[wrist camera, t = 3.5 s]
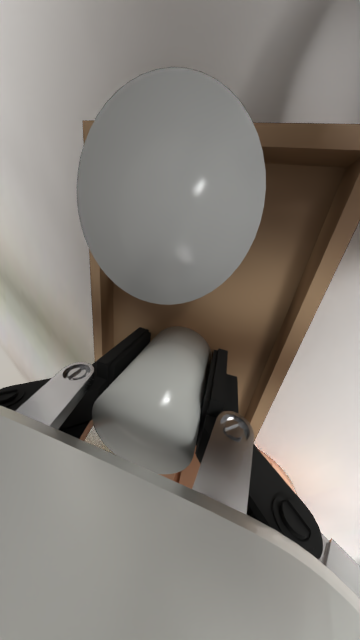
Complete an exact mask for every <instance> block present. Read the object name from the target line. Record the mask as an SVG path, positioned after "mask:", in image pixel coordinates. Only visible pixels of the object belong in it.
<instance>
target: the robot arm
mask: <svg viewBox="0 0 360 640" xmlns="http://www.w3.org/2000/svg"><path fill="white" fill-rule="evenodd" d="M150 340H151V332H149V330H148V329H145V328H141V327H139V328H138V329H136V330H135V331H134V332H133V333H131V334H130V335H129V336H128V337H126V338H125V339H124V340H122V341H121V342H120V343H119V344H117V345H116V346H115V347H113V348H112V349H111V350H110V351H108V352H107V353H106V354H105V355H103V356H102V357H101V358H99V359H98V360H97V361H96V362H95V363H93V364H92V365H91V364H89V363H86V362H78V363H73V364H70V365H68V366H66V367H64V368H63V369H62V370H60V371H59V372H58V373H57V374H56V375H55V376H54V377H53V378H50V379H45V380H39V381H34V382H29V383H24V384H19V385H13V386H9V387H5V388H2V389H0V640H360V566H359V565H358V564H357V563H356V562H355V561H354V560H353V559H352V558H351V557H350V556H349V555H348V554H347V553H346V552H345V551H344V550H343V549H342V548H341V547H340V546H339V545H338V544H337V543H336V542H335V541H334V540H333V539H331V540H330V541H329V540H328V539H327V538H326V537H325V536H324V535H323V534H322V533H321V532H320V529H319V526H318V524H317V523H316V521H315V519H314V517H313V515H312V514H311V512H310V511H309V510H308V508H307V507H306V505H305V504H304V503H303V502H302V501H301V500H300V498H299V497H298V496H297V495H296V494H295V492H294V491H293V490H292V489H291V488H290V487H289V485H288V484H287V483H286V482H285V481H284V479H283V478H282V477H281V476H280V475H279V473H278V472H277V471H276V470H275V469H274V468H273V466H272V465H271V464H270V463H269V462H268V460H267V459H266V458H265V457H264V456H263V455H262V453H261V452H260V451H259V450H258V449H257V447H256V446H255V445H254V431H253V429H252V426H251V425H250V423H249V422H248V421H247V420H246V419H245V418H244V417H243V416H241V415H240V414H239V409H238V381H237V377H236V376H233V375H229V374H227V357H228V351H227V350H223V349H219V348H218V351H217V350H214V353H213V356H212V360H211V365H210V370H209V375H208V380H207V385H206V390H205V394H204V399H203V404H202V409H201V414H200V425H199V430H198V435H197V440H196V451H195V454H196V457H197V459H198V460H199V462H200V464H201V465H200V467H199V470H198V473H197V476H196V479H195V482H194V485H193V487H192V489H190V488H188V487H186V486H184V485H182V484H179V483H177V482H175V481H173V480H170V479H168V478H166V477H164V476H161V475H159V474H157V473H155V472H152V471H150V470H148V469H146V468H144V467H141V466H139V465H137V464H135V463H132V462H130V461H128V460H126V459H123V458H121V457H119V456H117V455H114V454H112V453H110V452H107V451H105V450H103V449H101V448H98V447H96V446H94V445H92V444H89V443H87V442H85V441H84V440H85V438H86V437H87V435H88V433H89V431H90V430H91V428H92V426H93V425H94V424H93V420H92V408H93V405H94V403H95V401H96V400H97V398H98V397H99V396H100V395H101V394H102V393H103V392H104V391H105V390H106V389H107V388H108V387H109V386H110V384H111V383H112V382H113V381H114V380H115V379H116V378H117V377H118V376H119V375H120V374H121V373H122V372H123V371H124V370H125V368H126V367H127V366H128V365H129V364H130V363H131V362H132V361H133V360H134V359H135V358H136V357H137V356H138V355H139V354H140V352H141V351H142V350H143V349H144V348H145V347H146V346H147V345H148V344H149V343H150Z"/></svg>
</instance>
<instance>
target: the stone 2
mask: <svg viewBox="0 0 360 640" xmlns="http://www.w3.org/2000/svg"><path fill="white" fill-rule="evenodd" d="M211 360H212V353H211V349H210V347H209V345H208V343H207V342H206V341H205V339H204V338H203V337H202V336H201V335H199V334H198V333H197V332H195V331H193V330H191V329H189V328H186V327H179V326H175V327H169V328H166V329H164V330H162V331H161V332H159V333H158V334H157V335H156V336H155V337H154V339H153V340H152V341H151V342H150V343H149V344H148V345H147V346H146V347H145V348H144V349H143V350H142V351H141V352H140V354H139V355H138V356H137V357H136V358H135V359H134V360H133V361H132V362H131V363H130V364H129V365H128V366H127V367H126V368H125V370H124V371H123V372H122V373H121V374H120V375H119V376H118V377H117V378H116V379H115V380H114V381H113V382H112V383H111V384H110V386H109V387H108V388H107V389H106V390H105V391H104V392H103V393H102V394H101V395H100V396H99V397H98V398H97V400H96V401H95V403H94V405H93V408H92V420H93V424H94V427H95V430H96V432H97V433H98V435H99V437H100V438H101V440H102V441H103V442H104V444H105V445H106V446H107V447H108V448H109V449H110V450H111V451H112V452H113V453H114V454H115V455H117V456H119V457H121V458H123V459H126V460H128V461H130V462H132V463H135V464H137V465H139V466H141V467H144V468H146V469H148V470H150V471H152V472H155V473H157V474H173V473H177V472H180V471H182V470H184V469H185V468H186V467H187V466H189V464H190V463H191V461H192V459H193V456H194V451H195V446H196V440H197V435H198V430H199V425H200V414H201V409H202V404H203V399H204V394H205V390H206V385H207V380H208V375H209V370H210V365H211Z"/></svg>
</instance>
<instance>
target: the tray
mask: <svg viewBox="0 0 360 640" xmlns="http://www.w3.org/2000/svg"><path fill="white" fill-rule="evenodd" d="M93 123H94V121H83V138H84V143H85V141H86V138H87V135H88V133H89V130H90V128H91V126H92V124H93ZM253 124H254V126H255V129H256V131H257V133H258V136H259V140H260V143H261V147H262V150H263V156H264V163H265V170H266V191H265V201H264V208H263V213H262V217H261V222H260V225H259V228H258V230H257V233H256V236H255V239H254V241H253V243H252V245H251V247H250V249H249V251H248V253H247V254H246V256H245V258H244V259H243V261H242V262H241V264H240V265H239V266H238V268H237V269H236V270H235V271H234V272H233V274H232V275H231V276H230V277H229V278H228V279H227V280H226V281H225V282H224V283H222V284H221V285H220V286H219V287H217V288H216V289H214V290H213V291H212V292H210V293H208V294H206V295H204V296H203V297H201V298H198V299H195V300H193V301H190V302H186V303H181V304H173V305H165V304H155V303H150V302H147V301H143V300H141V299H138V298H136V297H134V296H132V295H130V294H128V293H127V292H125V291H124V290H122V289H121V288H120V287H118V286H117V285H116V284H115V283H114V282H113V281H112V280H111V279H110V278H109V277H108V276H107V275H106V274H105V273H104V271H103V270H102V269H101V268H100V266H99V265H98V263H97V262H96V260H95V258H94V257H93V255H92V253H91V251H90V249H89V256H90V276H91V296H92V315H93V335H94V355H95V362H96V361H97V360H98V359H99V358H101V357H102V356H103V355H105V354H106V353H107V352H108V351H110V350H111V349H112V348H113V347H115V346H116V345H117V344H119V343H120V342H121V341H122V340H124V339H125V338H126V337H128V336H129V335H130V334H131V333H133V332H134V331H135V330H136V329H138V328H139V327H141V328H145V329H148V330H149V332H151V340H150V342H151V341H152V340H153V339H154V337H155V336H156V335H157V334H158V333H159V332H161V331H162V330H164V329H166V328H169V327H175V326H179V327H186V328H189V329H191V330H193V331H195V332H197V333H198V334H199V335H201V336H202V337H203V338H204V339H205V341H206V342H207V343H208V345H209V347H210V349H211V353H212V356H213V353H214V350H217V351H218V348H219V349H223V350H227V351H228V357H227V374H229V375H233V376H236V377H237V381H238V409H239V414H240V415H241V416H243V417H244V418H245V419H246V420H247V421H248V422H249V423H250V425H251V426H252V429H253V431H254V441H255V439H256V437H257V434H258V432H259V430H260V428H261V426H262V424H263V422H264V420H265V418H266V416H267V414H268V411H269V409H270V407H271V405H272V403H273V401H274V399H275V397H276V395H277V393H278V391H279V388H280V386H281V384H282V382H283V380H284V378H285V376H286V374H287V372H288V370H289V368H290V365H291V363H292V361H293V359H294V357H295V355H296V353H297V351H298V349H299V347H300V344H301V342H302V340H303V338H304V336H305V334H306V332H307V330H308V328H309V326H310V324H311V321H312V319H313V317H314V315H315V313H316V311H317V309H318V307H319V305H320V303H321V301H322V298H323V296H324V294H325V292H326V290H327V288H328V286H329V284H330V282H331V280H332V278H333V275H334V273H335V271H336V269H337V267H338V265H339V263H340V261H341V259H342V257H343V255H344V252H345V250H346V248H347V246H348V244H349V242H350V240H351V238H352V236H353V234H354V232H355V229H356V227H357V225H358V223H359V221H360V124H317V123H253Z"/></svg>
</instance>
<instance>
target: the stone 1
mask: <svg viewBox="0 0 360 640" xmlns="http://www.w3.org/2000/svg"><path fill="white" fill-rule="evenodd" d="M265 191H266V170H265V163H264V156H263V150H262V147H261V143H260V140H259V136H258V133H257V131H256V129H255V126H254V124H253V122H252V119H251V117H250V116H249V114H248V113H247V111H246V109H245V108H244V106H243V105H242V103H241V102H240V101H239V100H238V98H237V97H236V96H235V95H234V94H233V93H232V92H231V91H230V90H229V89H228V88H227V87H226V86H224V85H223V84H222V83H220V82H219V81H218V80H216V79H215V78H213V77H211V76H209V75H207V74H205V73H203V72H200V71H196V70H192V69H188V68H177V67H169V68H162V69H156V70H153V71H150V72H147V73H145V74H142V75H140V76H138V77H136V78H135V79H133V80H131V81H129V82H128V83H127V84H125V85H124V86H123V87H122V88H120V89H119V90H118V91H117V92H116V93H115V94H114V95H113V96H112V97H111V98H110V99H109V100H108V101H107V103H106V104H105V105H104V107H103V108H102V110H101V111H100V112H99V114H98V115H97V117H96V119H95V121H94V123H93V124H92V126H91V128H90V130H89V133H88V135H87V138H86V141H85V143H84V146H83V150H82V154H81V157H80V163H79V169H78V178H77V203H78V212H79V217H80V222H81V227H82V230H83V233H84V237H85V239H86V242H87V244H88V247H89V249H90V251H91V253H92V255H93V257H94V258H95V260H96V262H97V263H98V265H99V266H100V268H101V269H102V270H103V271H104V273H105V274H106V275H107V276H108V277H109V278H110V279H111V280H112V281H113V282H114V283H115V284H116V285H117V286H118V287H120V288H121V289H122V290H124V291H125V292H127V293H128V294H130V295H132V296H134V297H136V298H138V299H141V300H143V301H147V302H150V303H155V304H165V305H173V304H181V303H186V302H190V301H193V300H195V299H198V298H201V297H203V296H204V295H206V294H208V293H210V292H212V291H213V290H214V289H216V288H217V287H219V286H220V285H221V284H222V283H224V282H225V281H226V280H227V279H228V278H229V277H230V276H231V275H232V274H233V272H234V271H235V270H236V269H237V268H238V266H239V265H240V264H241V262H242V261H243V259H244V258H245V256H246V254H247V253H248V251H249V249H250V247H251V245H252V243H253V241H254V239H255V236H256V233H257V230H258V228H259V225H260V222H261V217H262V213H263V208H264V201H265Z"/></svg>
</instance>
